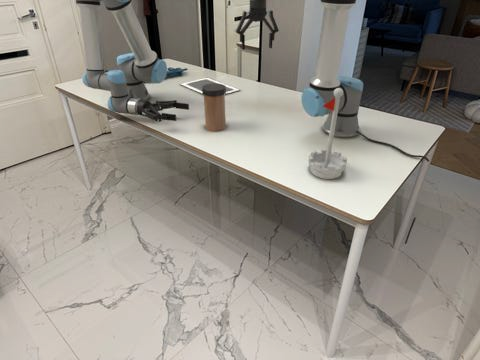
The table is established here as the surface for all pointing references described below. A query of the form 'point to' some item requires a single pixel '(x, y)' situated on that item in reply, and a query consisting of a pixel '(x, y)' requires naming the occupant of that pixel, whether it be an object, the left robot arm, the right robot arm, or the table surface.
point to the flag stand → (329, 148)
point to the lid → (214, 89)
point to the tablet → (200, 83)
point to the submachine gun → (174, 71)
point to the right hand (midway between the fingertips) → (256, 48)
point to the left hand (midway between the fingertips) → (182, 112)
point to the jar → (215, 112)
